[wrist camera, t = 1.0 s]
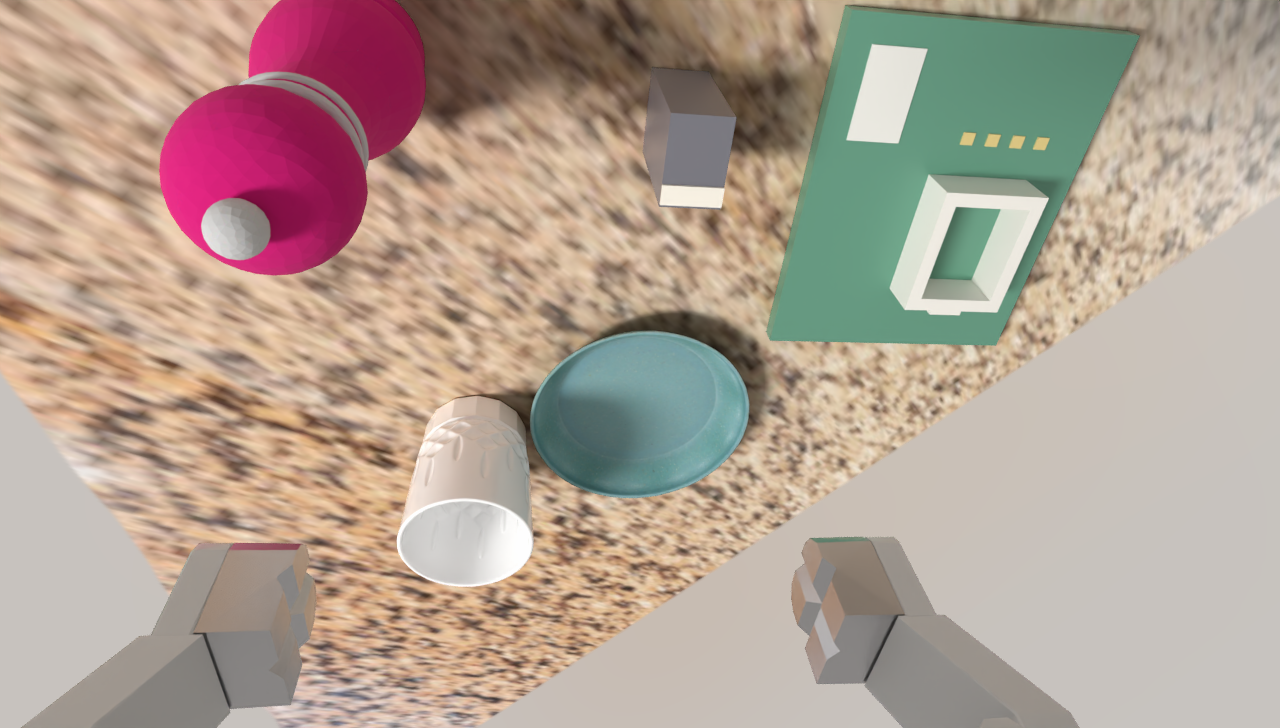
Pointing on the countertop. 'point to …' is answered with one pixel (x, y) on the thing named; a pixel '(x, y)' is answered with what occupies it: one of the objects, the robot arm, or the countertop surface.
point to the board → (938, 173)
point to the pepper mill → (295, 135)
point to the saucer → (639, 414)
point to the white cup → (469, 496)
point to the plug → (687, 138)
